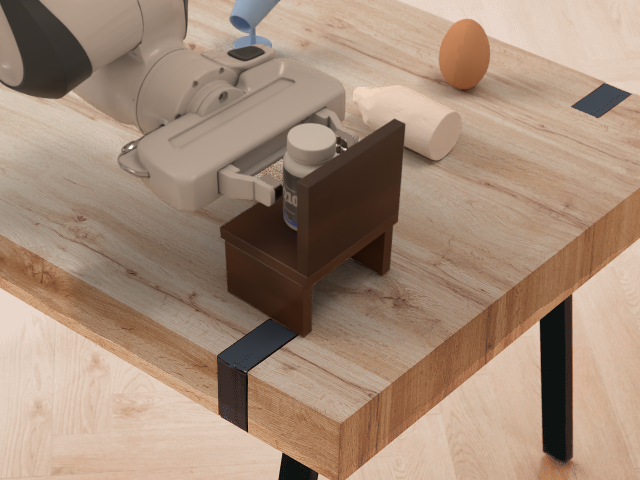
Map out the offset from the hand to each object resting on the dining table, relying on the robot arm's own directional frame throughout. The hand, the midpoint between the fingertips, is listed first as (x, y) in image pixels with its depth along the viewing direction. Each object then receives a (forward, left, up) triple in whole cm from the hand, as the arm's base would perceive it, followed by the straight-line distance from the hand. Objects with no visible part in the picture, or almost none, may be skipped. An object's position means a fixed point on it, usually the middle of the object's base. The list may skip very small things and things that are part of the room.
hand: (316, 170), depth 88 cm
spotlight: (+26, +32, -13) cm, 43 cm away
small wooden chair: (0, +1, -12) cm, 13 cm away
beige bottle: (+24, +9, -13) cm, 29 cm away
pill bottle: (0, +1, -6) cm, 6 cm away
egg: (+37, +10, -13) cm, 40 cm away
